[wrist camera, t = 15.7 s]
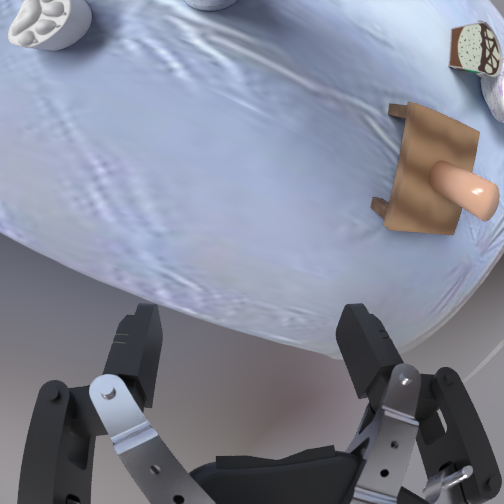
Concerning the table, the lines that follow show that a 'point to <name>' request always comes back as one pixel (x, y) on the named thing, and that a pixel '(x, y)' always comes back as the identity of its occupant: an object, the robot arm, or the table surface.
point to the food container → (475, 50)
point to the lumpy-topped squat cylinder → (50, 24)
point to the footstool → (426, 170)
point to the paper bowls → (495, 94)
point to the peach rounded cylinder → (465, 189)
